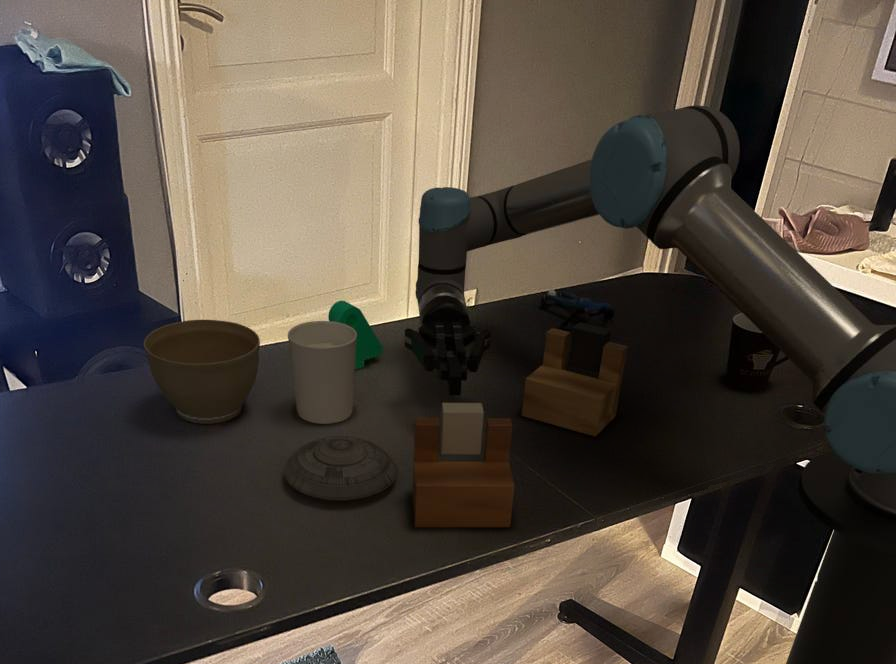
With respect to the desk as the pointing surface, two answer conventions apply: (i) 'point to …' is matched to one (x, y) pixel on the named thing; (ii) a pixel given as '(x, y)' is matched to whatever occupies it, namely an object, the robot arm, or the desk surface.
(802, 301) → the robot arm
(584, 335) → the black block
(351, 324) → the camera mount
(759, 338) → the coffee mug
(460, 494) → the near stand
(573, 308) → the person figurine
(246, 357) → the planter bowl
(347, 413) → the white tumbler cup
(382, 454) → the flying saucer
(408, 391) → the desk surface
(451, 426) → the ivory key
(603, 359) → the far stand
